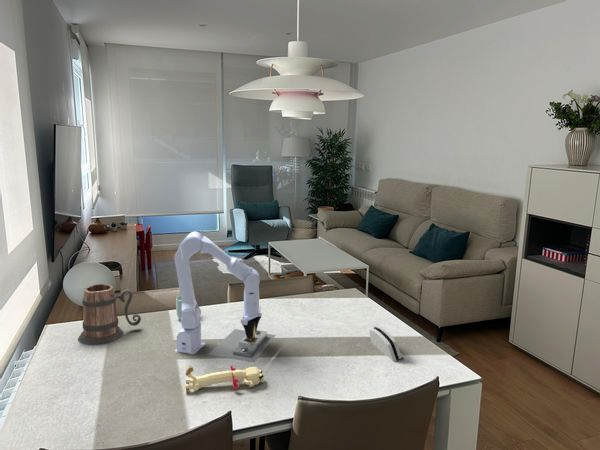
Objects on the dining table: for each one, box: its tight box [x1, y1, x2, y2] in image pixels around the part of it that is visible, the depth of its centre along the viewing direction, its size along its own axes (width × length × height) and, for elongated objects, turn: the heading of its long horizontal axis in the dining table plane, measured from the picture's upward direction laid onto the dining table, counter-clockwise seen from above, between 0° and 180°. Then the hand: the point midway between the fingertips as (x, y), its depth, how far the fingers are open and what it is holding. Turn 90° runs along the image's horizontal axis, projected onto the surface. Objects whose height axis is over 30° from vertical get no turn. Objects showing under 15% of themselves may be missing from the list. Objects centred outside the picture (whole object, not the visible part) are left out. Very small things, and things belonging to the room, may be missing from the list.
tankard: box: [77, 283, 142, 347], centre depth 178 cm, size 24×17×20 cm
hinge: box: [368, 325, 406, 362], centre depth 172 cm, size 17×5×10 cm, turn 20°
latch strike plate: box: [233, 329, 269, 357], centre depth 172 cm, size 18×7×3 cm, turn 165°
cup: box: [175, 294, 182, 321], centre depth 196 cm, size 8×8×10 cm
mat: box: [207, 328, 276, 363], centre depth 173 cm, size 24×18×1 cm
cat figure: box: [185, 365, 266, 394], centre depth 144 cm, size 10×9×25 cm
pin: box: [247, 326, 255, 341], centre depth 172 cm, size 3×3×6 cm
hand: (251, 335), depth 172 cm, fingers closed on pin, 3 cm apart
